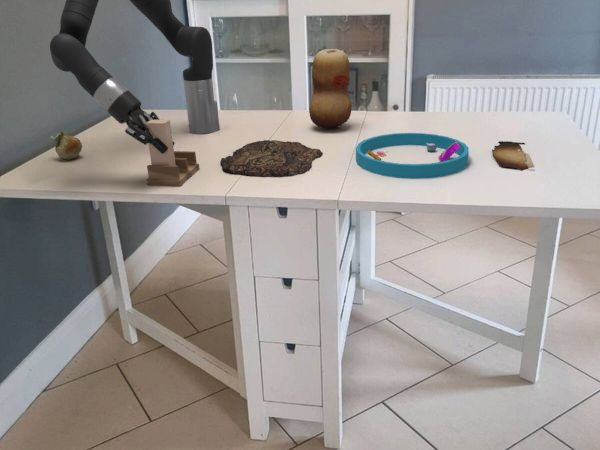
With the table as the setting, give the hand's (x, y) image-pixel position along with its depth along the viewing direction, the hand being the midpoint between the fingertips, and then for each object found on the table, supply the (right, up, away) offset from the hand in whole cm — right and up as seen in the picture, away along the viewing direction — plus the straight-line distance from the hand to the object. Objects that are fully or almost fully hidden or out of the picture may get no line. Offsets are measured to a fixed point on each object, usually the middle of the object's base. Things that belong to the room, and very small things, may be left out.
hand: (168, 148), depth 150 cm
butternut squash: (+44, +12, +45) cm, 64 cm away
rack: (0, -7, +6) cm, 9 cm away
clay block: (-2, -4, +2) cm, 5 cm away
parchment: (+91, -1, +12) cm, 92 cm away
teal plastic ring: (+64, -2, +12) cm, 65 cm away
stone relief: (+26, -1, +17) cm, 31 cm away
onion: (-35, 0, +25) cm, 43 cm away
